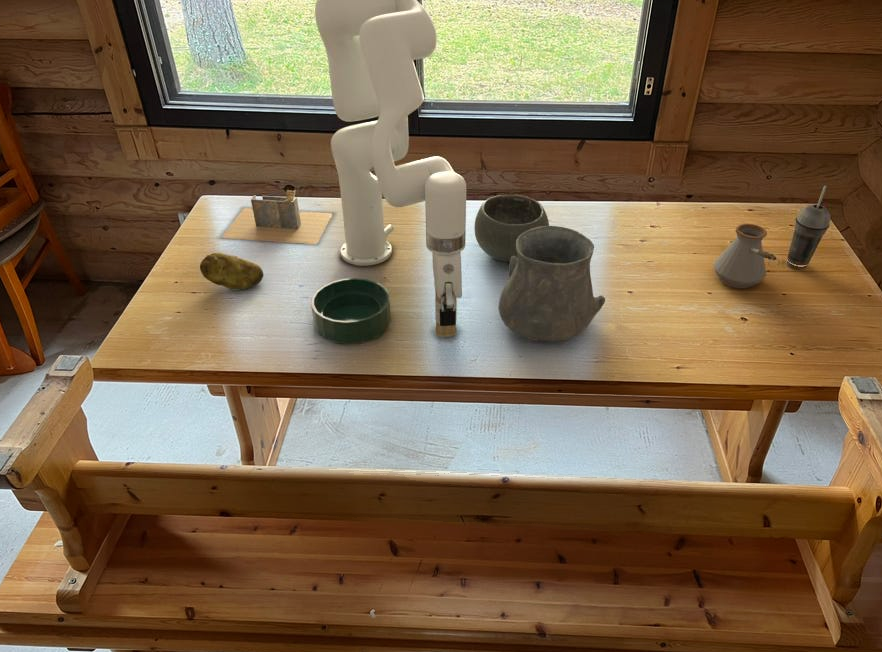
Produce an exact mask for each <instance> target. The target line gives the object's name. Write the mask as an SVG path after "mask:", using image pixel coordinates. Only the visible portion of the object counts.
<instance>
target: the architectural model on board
mask: <svg viewBox="0 0 882 652" xmlns="http://www.w3.org/2000/svg"><path fill="white" fill-rule="evenodd" d="M285 193H286V196H273V195H262V197H261V198H262V199H257V197H256V196H257V195H256V194H254V195H253V196H252V197H251V198H250V203H251V208H250V207H243V209H242V210H240V212H239V214H237V216H236V218H235V219H234V220H233V222H232V223H231V224H230V225H229V227H228V228H227V229H226V231H225V232H224V233H223V235H222V237H221V239H232V240H246V241H262V242H276V243H277V242H278V243H292V244H305V245H306V244H307V245H318V243H319V240H320V239H321V237H322V235H323V233H324V231H325V230H326V228H327V226H328V224H329V222H330V221H331V219H332V216H333V215H334V214H333V213H330V212H317V211H316V212H314V211H300V208H299V202H298V201H299V200H298V197H295V195H296V190H289V189H287V190H286V191H285Z"/></svg>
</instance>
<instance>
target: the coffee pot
mask: <svg viewBox="0 0 882 652" xmlns="http://www.w3.org/2000/svg"><path fill="white" fill-rule="evenodd" d="M734 231H735V233H736V237H735V238H734V239H733V241H731V243H729V245H728V246H727V247H726V248H725V249H724V250H723V251H722V253H720V255H719V256H718V257H717V258H716V259H715V261H714V263H713V269H714V273H715V275H716V276H717V277H718V278H719V280H720V281H721V282H722V283H723V284H725V285H726V286H728V287H731V288H735V289H747V288H750V287H753V286H755V285H758V284H760V283H761V282H762V281H763V280H764V279H765V278H766V275H767V269H766V263H765V259H767V260H768V261H767V264H768V266H770V267H771V268H777V267H778V266H779V265H780V263H781V262H780V261H781V260H779V258H777V257H776V256H775V255H774V254H773V253H770V252H768V251H765V250H764V249H763V242H762V241H763V240H764V239H765V238H766V237H767V235H768V231H767V230H766V229H765V228H764V227H762V226H761V225H758V224H754V223H741V224H739V225H738V226H736V227H735V230H734ZM770 261H778V264H777V265H774V266H773V265H770Z"/></svg>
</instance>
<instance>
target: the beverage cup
mask: <svg viewBox="0 0 882 652" xmlns="http://www.w3.org/2000/svg"><path fill="white" fill-rule="evenodd" d="M826 190H827V185H823V188H822V191H821V193H820V196H819V198H818V201H817V204H816V203H815V204H814V203H813V204H809V205H807V206H805V207H803V208H802V209H801V210H800V211H799V212H798V213H797V214H798V215H797V216H796V217H795V219H794V221H795V222H794V230H793V235H792V238H791V241H790V245H789V250H788V254H787V257H786V258H787V259H788V261H789V262H791V263H793V264H796V265H807V264H808V265H809V264H810V262H811V260H812V258H813V256H814V253H815V252H816V250H817V248H818V246H819V244H820V242H821V240H822V238H823V236H824V235H825V234H826V233H827V231H828V229H829V228H830V226H831V225H830V224H831V215H830V212H829V210H828V209H827V208H826V206H824V205H821V203H822V201H823V197H824V195H825V192H826ZM787 259H786V262H785V264H786V266H787V267H788V268H789V269H792V270H795V271H803V270H805V269H807V266H808V265H807V266H804V267H798V266H794V265H792V264H790V263H789V262H788V261H787Z"/></svg>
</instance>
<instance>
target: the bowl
mask: <svg viewBox="0 0 882 652" xmlns="http://www.w3.org/2000/svg"><path fill="white" fill-rule="evenodd" d="M474 219H475V220H474V228H473V229H474V236H475V239H476V242H477V244H478V246H479V248H480V249H481V250H482V251H483V252H484V253H485V254H487V255H488V256H489V257H491V258H492V259H495V260H497V261H500V262H504V263H510V259H511V257H512V256H516V258H517V259H518V255H517V250H516V240H517V239H518V237H519V236H520V235H521V234H522V233H523V232H525V231H527V230H530V229H532V228H536V227H540V226H550V222H549V218H548V215H547V212H546V210H545V208H544V206H543V205H542V204H541V203H540V202H539V201H538V200H536V199H534V198H532V197H528V196H525V195H524V196H523V195H520V194H504V195H502V194H499V195H496V196H491V197H489V198H487V199H486V200H485V201H484V202H483V203H482V204H481V206H480V207H479V209H478V210H477V214H476V216H475V218H474Z"/></svg>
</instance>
